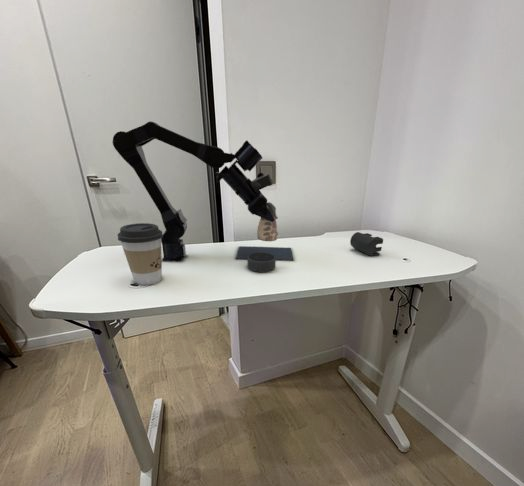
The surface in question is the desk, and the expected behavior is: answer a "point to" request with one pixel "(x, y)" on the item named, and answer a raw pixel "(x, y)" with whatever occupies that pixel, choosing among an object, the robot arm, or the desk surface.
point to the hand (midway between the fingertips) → (272, 219)
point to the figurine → (268, 226)
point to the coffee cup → (143, 251)
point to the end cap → (366, 243)
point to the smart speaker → (261, 262)
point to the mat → (277, 252)
